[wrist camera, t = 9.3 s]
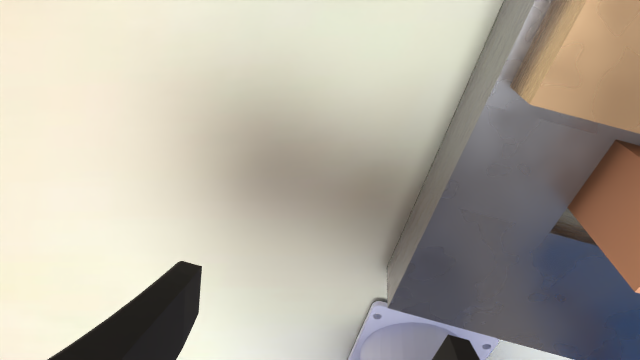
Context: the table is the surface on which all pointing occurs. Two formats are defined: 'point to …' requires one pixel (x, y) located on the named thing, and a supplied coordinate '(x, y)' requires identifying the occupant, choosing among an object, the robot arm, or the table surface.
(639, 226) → the light brown rectangular block
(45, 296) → the table surface
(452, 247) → the bracket plate
